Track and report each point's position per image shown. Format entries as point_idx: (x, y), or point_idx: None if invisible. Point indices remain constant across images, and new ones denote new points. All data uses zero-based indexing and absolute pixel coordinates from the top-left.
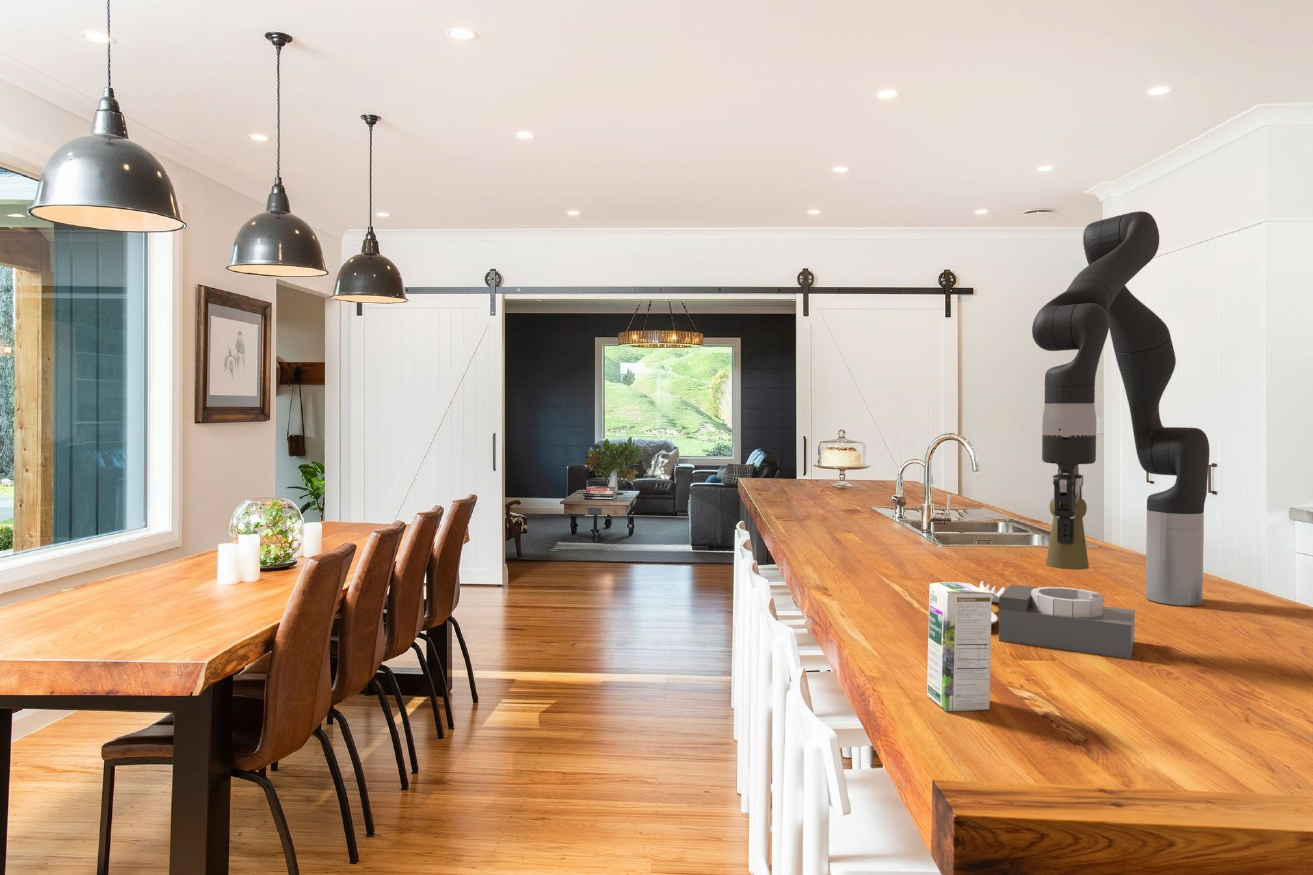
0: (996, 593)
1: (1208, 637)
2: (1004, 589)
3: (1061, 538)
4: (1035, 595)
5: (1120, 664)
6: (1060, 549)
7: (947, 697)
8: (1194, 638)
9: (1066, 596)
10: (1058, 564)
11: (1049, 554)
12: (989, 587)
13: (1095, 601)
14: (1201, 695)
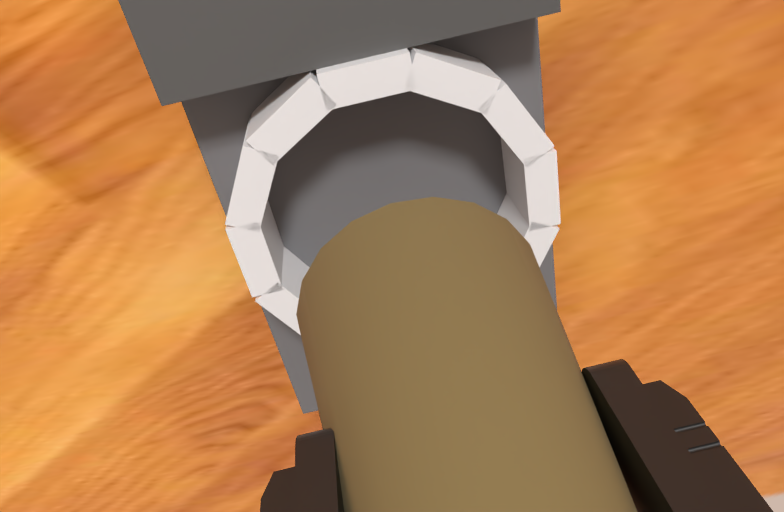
0: None
1: (693, 386)
2: None
3: (272, 494)
4: (268, 116)
5: (223, 338)
6: (316, 398)
7: None
8: (662, 370)
9: (514, 166)
10: (302, 321)
11: (350, 285)
12: None
13: None
14: (118, 504)
